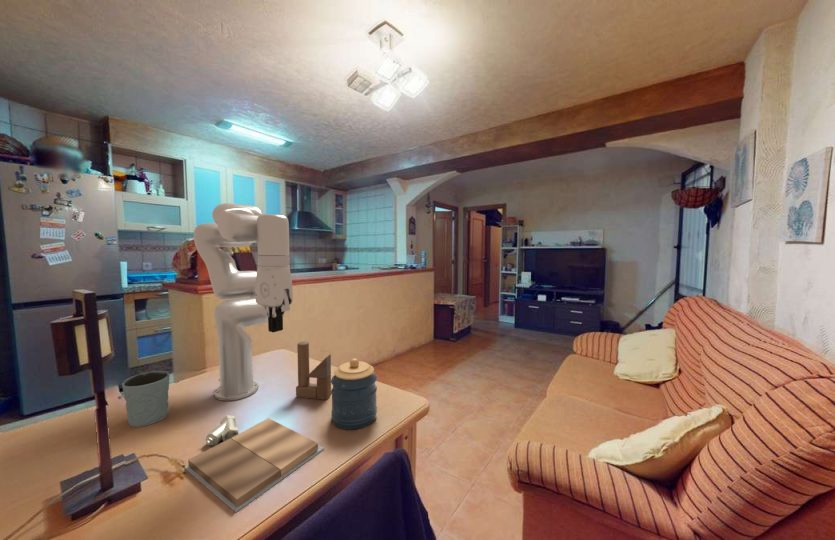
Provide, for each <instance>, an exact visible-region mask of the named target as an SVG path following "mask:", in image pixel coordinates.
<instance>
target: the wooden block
mask: <svg viewBox="0 0 835 540" xmlns="http://www.w3.org/2000/svg"><path fill="white" fill-rule="evenodd" d="M296 346H297V347H296V348H297V386H296V387H295V397H296V398H297V399H298V398H299V399H301V398H302V399H314V400H324V399H327V400H328V399H329V398H330V397H331V396H332V394H331V391H332V383H331V379H332V375H331V374H332V361H331V360H332V357H331V356H332V354H331V353H329V354H328V355H327V356H326V357H325V358H324V359H323V360H322V361H321V362H320V363H319V364H318V365H316V367H315V368H314V369H313V370H312V371H310V343H309V341H305V340H304V341H298V342H297V345H296ZM311 378H313V379H316V383H311ZM329 396H330V397H329Z"/></svg>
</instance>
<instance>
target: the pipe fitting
mask: <svg viewBox="0 0 835 540" xmlns="http://www.w3.org/2000/svg"><path fill="white" fill-rule="evenodd" d="M238 434H239V429H238V427H237V424H236V417H235V416H234V415H228V414H227V415H225V416H224V417H223V418H222V419H221V420H220V421H219V425H218V426H217V427H216V428H214V429H213V430H212V431H211V432H209V433H208V434H207V435H206V437H205V441H206V442H205V443H206V445H207V446H212V447H214V446H216V445H218V444H220V443H221V441H222V442H224V441H226V440H228V439H230V438H232V437H234V436H236V435H238Z"/></svg>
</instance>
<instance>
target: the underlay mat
mask: <svg viewBox="0 0 835 540" xmlns="http://www.w3.org/2000/svg"><path fill="white" fill-rule="evenodd" d="M324 450H325V448H324V447H323V446H321V445H319V444H318V450H317V451H315V452H314V453H312V454H311V455H310V456H308V457H307V458H306V459H304V460H303V461H301V462H300V463H299V464H297V465H296V466H295V467H293V468H292V469H290V470H289V471H288V472H286V473H285V474H284V475H282V476H280V478H278V479H277V480H275V481H274V482H272V483H271V484H270V485H268V486H267V487H265V488H264V489H263V490H261V491H260V492H258V493H257V494H255V495H254V496H253V497H251V498H250V499H248V500H247V501H246V502H244V503H243V504H241V505H240V506H238V507H236V506H235V505H234V504H233V503H232V502H230V501H229V500H228V499H227V498H226V497H224V496H223V495H222V494H221V493H220V492H218V491H217V490H216V489H215V488H214V487H212V486H211V485H210V484H209V483H208V482H206V481H205V480H204V479H203V478H202V477H200V476H199V475H198V474H197V473H196V472H194V471H193V470H192V469H191V468H190V467H189V466H188V465H186V466H184V469H185V470H186V471H187V472H188V473H190V475H192V476H193V477H194V478H195V479H196V480H197V481H199V482H200V483H201V484H202V485H203V486H205V487H206V488H207V489H208V490H209V491H210V492H211V493H212V494H214V495H215V496H216V497H217V498H219V500H221V501H222V502H223V503H224V504H226V505H227V506H228V507H229V508H231V510H232V511H234V512H235V513H238V512H239V511H241V510H242V509H243V508H245V507H246V506H248V504H250V503H252V502H253V501H254V500H256V499H257V498H258V497H260V496H261V495H263V494H264V493H265V492H267V491H268V490H270V489H271V488H272V487H274V486H276V485H277V484H278V483H279V482H280V481H282V480H284V479H285V478H286V477H288V476H289V475H290V474H292V473H293V472H295V471H296V470H297V469H299V468H300V467H301V466H303V465H304V464H306V463H307V462H308V461H310V460H311V459H312V458H315V456H317V455H319V453H321V452H323V451H324Z"/></svg>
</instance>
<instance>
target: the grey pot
mask: <svg viewBox="0 0 835 540" xmlns="http://www.w3.org/2000/svg"><path fill="white" fill-rule="evenodd" d="M170 374H171V373H170V372H169V371H166V370H152V371H148V372H147V371H146V372H141V373H139V374H136V375H133V376H130V377H128V378H126V379H125V380H123V382H122V383H121V386H122V393H123V395H124V400H125V407H126V416H127V423H128V426H130V427H145V426H149V425H151V424H154V423H157V422H159V421H161V420H163V419H165V418H166V417H167V416H168V414H169V389H170Z"/></svg>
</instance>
